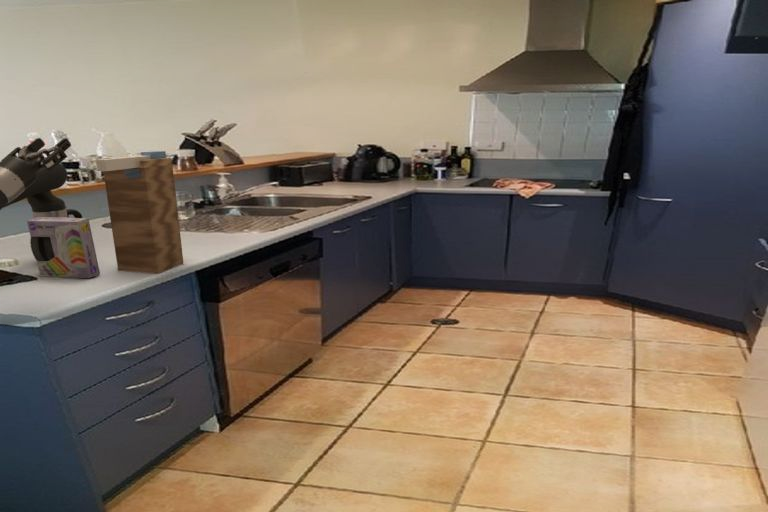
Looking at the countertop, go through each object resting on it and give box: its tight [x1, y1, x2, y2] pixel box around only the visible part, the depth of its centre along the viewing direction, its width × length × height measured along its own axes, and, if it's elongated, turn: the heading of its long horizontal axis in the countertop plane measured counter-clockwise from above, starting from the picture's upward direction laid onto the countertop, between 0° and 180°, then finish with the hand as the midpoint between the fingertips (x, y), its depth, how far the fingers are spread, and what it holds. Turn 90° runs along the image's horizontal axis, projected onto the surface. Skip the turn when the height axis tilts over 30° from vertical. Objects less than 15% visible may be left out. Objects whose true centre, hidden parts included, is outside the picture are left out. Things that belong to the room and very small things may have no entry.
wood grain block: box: [102, 157, 184, 275], centre depth 157 cm, size 13×15×34 cm
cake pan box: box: [26, 217, 101, 279], centre depth 151 cm, size 19×5×18 cm, turn 77°
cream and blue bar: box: [95, 150, 168, 172], centre depth 147 cm, size 24×4×4 cm, turn 163°
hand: (54, 141), depth 127 cm, fingers open, 8 cm apart
